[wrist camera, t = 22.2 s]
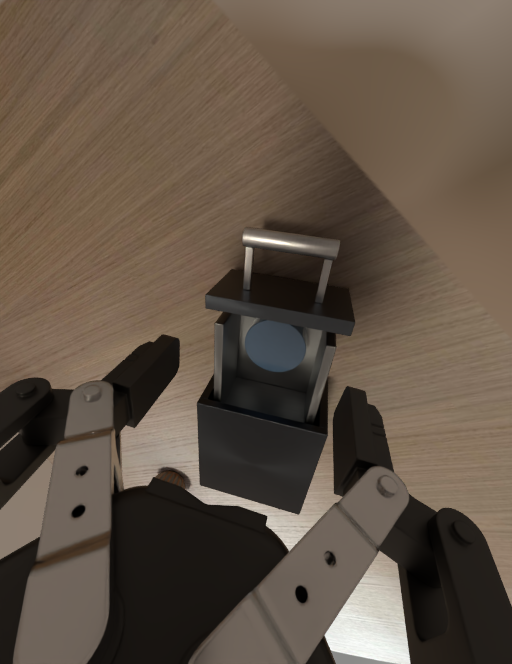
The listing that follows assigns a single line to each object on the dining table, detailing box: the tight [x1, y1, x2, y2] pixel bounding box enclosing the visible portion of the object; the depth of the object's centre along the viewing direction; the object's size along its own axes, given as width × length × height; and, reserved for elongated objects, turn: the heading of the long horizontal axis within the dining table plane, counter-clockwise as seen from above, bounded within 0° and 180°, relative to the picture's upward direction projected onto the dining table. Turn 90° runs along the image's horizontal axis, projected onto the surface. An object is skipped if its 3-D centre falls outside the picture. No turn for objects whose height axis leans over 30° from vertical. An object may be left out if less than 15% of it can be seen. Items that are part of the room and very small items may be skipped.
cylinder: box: [245, 318, 308, 372], centre depth 27 cm, size 6×6×2 cm
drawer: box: [205, 227, 355, 425], centre depth 25 cm, size 18×11×7 cm, turn 175°
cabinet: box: [197, 374, 328, 514], centre depth 32 cm, size 15×13×9 cm
